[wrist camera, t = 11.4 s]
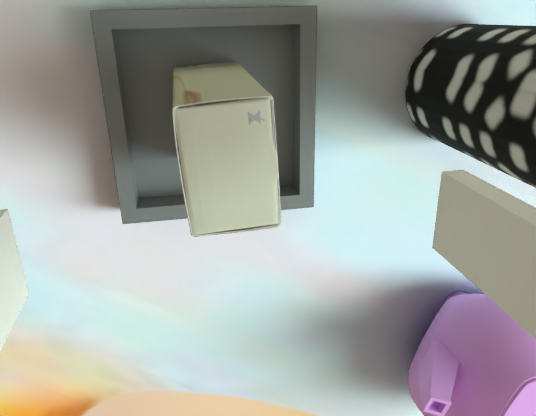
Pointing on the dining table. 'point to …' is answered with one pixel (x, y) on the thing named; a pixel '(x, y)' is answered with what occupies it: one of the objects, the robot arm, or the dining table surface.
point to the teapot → (474, 362)
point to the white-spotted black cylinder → (479, 94)
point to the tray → (194, 53)
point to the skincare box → (225, 149)
